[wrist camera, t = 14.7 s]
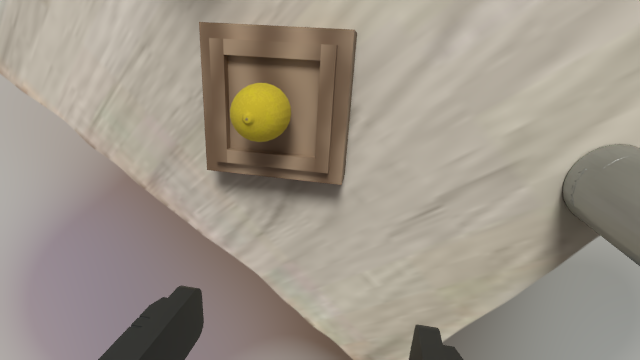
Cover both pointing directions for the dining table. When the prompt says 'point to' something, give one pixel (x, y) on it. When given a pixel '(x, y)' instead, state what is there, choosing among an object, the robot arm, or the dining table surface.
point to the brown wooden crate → (295, 82)
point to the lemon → (260, 112)
